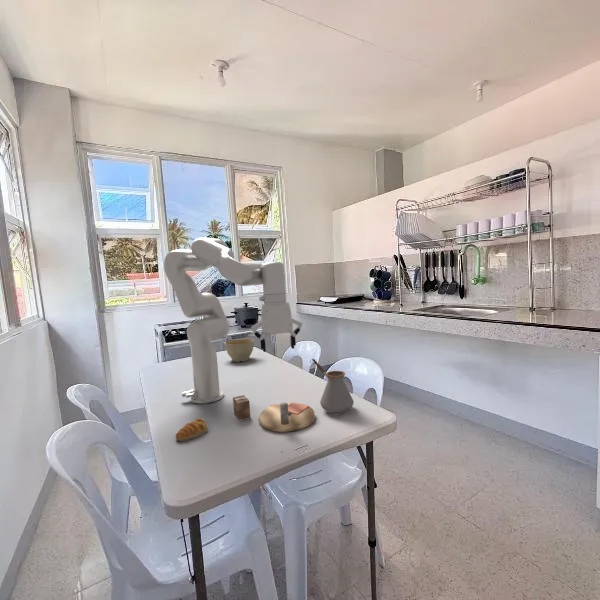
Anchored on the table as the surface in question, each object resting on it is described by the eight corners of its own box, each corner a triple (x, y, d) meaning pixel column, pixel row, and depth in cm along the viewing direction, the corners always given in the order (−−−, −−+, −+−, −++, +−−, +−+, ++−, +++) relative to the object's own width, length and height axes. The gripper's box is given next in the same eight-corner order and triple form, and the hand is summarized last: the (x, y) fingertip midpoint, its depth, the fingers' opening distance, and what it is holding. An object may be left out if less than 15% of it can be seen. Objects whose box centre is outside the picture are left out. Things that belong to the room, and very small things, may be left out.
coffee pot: (360, 411, 109) (359, 368, 108) (332, 420, 104) (330, 374, 103) (326, 392, 128) (324, 355, 127) (300, 399, 123) (298, 360, 121)
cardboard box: (238, 420, 107) (237, 402, 107) (234, 414, 113) (232, 396, 112) (250, 417, 109) (249, 399, 109) (245, 411, 114) (244, 394, 114)
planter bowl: (260, 357, 188) (259, 339, 187) (242, 365, 174) (241, 345, 173) (239, 355, 196) (238, 337, 195) (220, 362, 182) (218, 343, 182)
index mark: (273, 410, 114) (273, 408, 114) (270, 406, 117) (270, 405, 117) (279, 408, 115) (279, 407, 115) (275, 405, 118) (275, 404, 118)
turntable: (272, 437, 94) (270, 412, 94) (252, 414, 110) (250, 393, 110) (324, 421, 102) (323, 398, 102) (299, 403, 118) (298, 383, 118)
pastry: (184, 445, 93) (183, 432, 93) (170, 439, 97) (169, 427, 97) (210, 431, 101) (209, 419, 101) (196, 426, 105) (195, 415, 105)
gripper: (249, 302, 103) (253, 354, 104) (302, 297, 106) (305, 349, 107) (248, 300, 111) (252, 349, 112) (298, 296, 114) (301, 344, 115)
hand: (278, 349), depth 110 cm, fingers open, 9 cm apart
